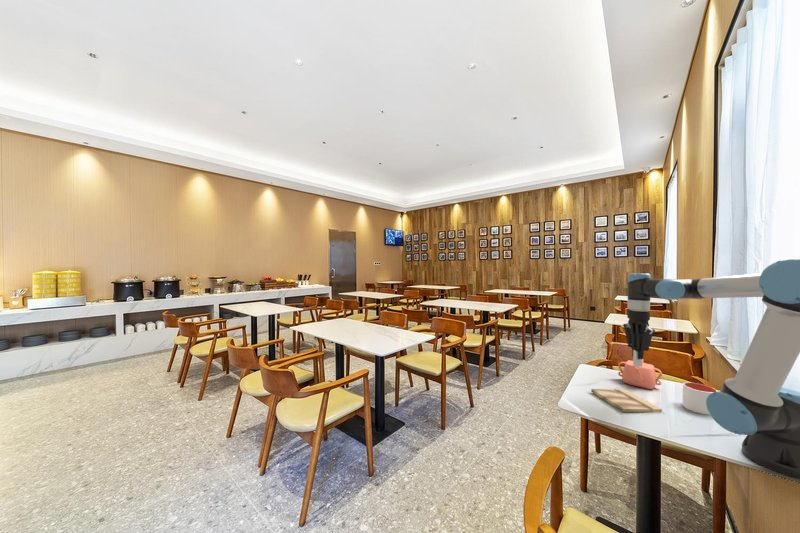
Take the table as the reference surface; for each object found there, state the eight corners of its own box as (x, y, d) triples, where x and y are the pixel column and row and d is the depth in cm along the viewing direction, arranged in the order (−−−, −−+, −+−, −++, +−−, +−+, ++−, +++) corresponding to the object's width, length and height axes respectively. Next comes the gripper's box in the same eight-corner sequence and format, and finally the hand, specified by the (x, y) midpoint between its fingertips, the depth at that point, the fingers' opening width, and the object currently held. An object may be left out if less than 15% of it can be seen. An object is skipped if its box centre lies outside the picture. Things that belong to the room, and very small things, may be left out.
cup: (723, 418, 120) (724, 393, 119) (693, 415, 122) (694, 391, 121) (703, 406, 129) (704, 383, 129) (676, 404, 131) (677, 381, 131)
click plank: (651, 412, 122) (651, 408, 122) (623, 411, 121) (623, 408, 121) (615, 392, 140) (616, 389, 140) (591, 391, 139) (591, 388, 139)
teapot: (635, 393, 142) (636, 366, 141) (611, 378, 158) (612, 354, 158) (668, 394, 141) (669, 367, 141) (641, 379, 158) (642, 355, 157)
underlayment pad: (665, 415, 121) (665, 410, 121) (620, 417, 120) (620, 411, 119) (624, 393, 141) (624, 388, 141) (585, 394, 139) (585, 389, 139)
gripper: (661, 312, 121) (660, 371, 121) (633, 307, 134) (632, 360, 134) (644, 312, 121) (643, 371, 121) (617, 307, 134) (616, 361, 134)
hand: (637, 365), depth 128 cm, fingers closed
